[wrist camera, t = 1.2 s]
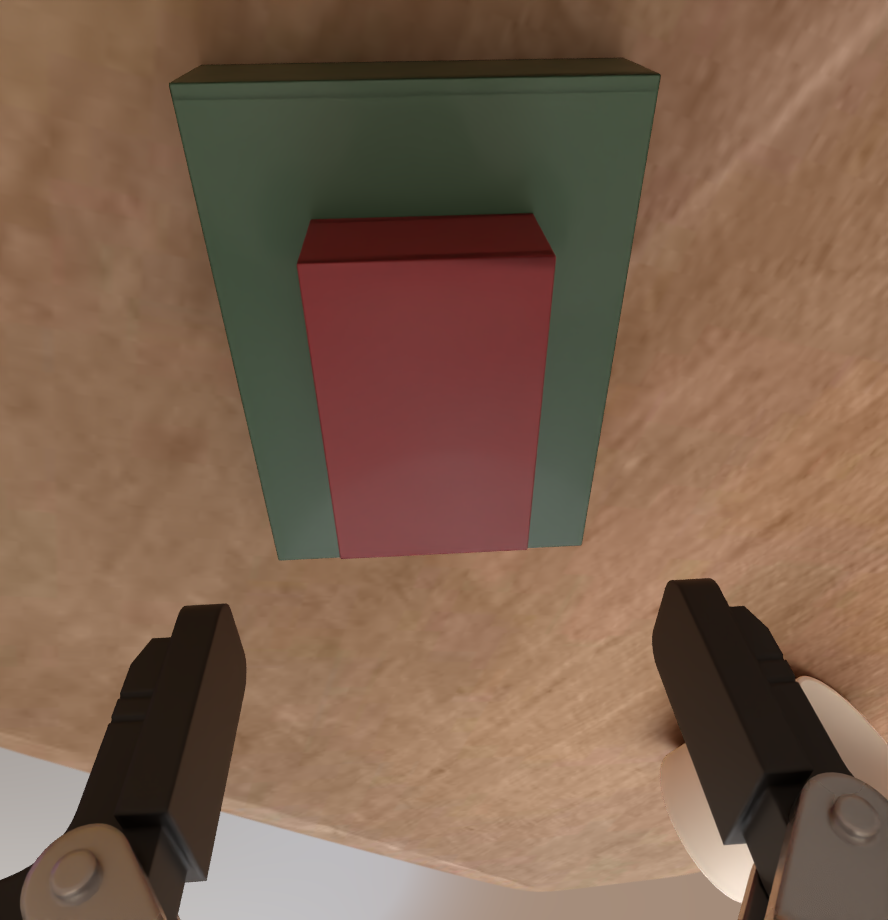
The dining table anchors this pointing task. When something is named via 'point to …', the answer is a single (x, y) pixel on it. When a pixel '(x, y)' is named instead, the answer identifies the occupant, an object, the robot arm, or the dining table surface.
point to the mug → (692, 813)
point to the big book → (407, 195)
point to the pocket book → (428, 377)
